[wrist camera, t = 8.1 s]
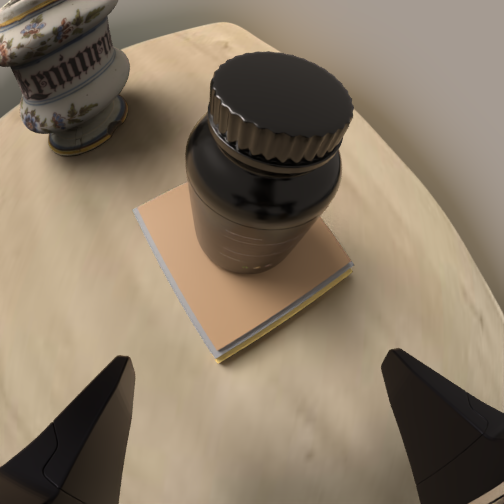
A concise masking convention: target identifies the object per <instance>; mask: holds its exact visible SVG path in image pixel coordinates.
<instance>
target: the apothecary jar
mask: <svg viewBox="0 0 504 504" xmlns="http://www.w3.org/2000/svg"><path fill="white" fill-rule="evenodd" d="M117 2H118V0H11V1H9V2H8V3H6V4H5V5H4V6H3V7H2V8H1V9H0V66H2V67H9V66H10V67H11V69H12V71H13V73H14V75H15V77H16V80H17V82H18V84H19V86H20V89H21V91H22V94H23V96H22V99H21V103H20V116H21V119H22V122H23V123H24V125H25V126H26V127H27V128H28V129H29V130H31V131H33V132H36V133H41V134H48V133H49V139H48V142H49V146H50V148H51V149H52V151H54V152H55V153H57V154H59V155H65V156H71V155H78V154H81V153H84V152H87V151H89V150H92V149H94V148H96V147H97V146H99V145H101V144H102V143H104V142H105V141H106V140H108V139H109V138H110V137H111V136H112V134H113V132H114V130H115V128H116V127H117V126H119V125H121V124H122V123H123V122H124V120H125V118H126V116H127V112H128V106H127V103H126V101H125V100H124V98H123V97H121V96H120V95H118V94H119V93H120V92H121V90H122V89H123V87H124V86H125V84H126V82H127V79H128V76H129V71H130V64H129V60H128V58H127V56H126V55H125V53H124V52H122V51H121V50H120V49H118V48H116V47H113V44H112V40H111V35H110V30H109V24H108V17H107V15H108V14H109V13H110V12H111V11H112V10H113V9H114V7H115V6H116V4H117Z"/></svg>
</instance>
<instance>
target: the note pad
mask: <svg viewBox="0 0 504 504" xmlns="http://www.w3.org/2000/svg"><path fill="white" fill-rule="evenodd" d="M133 213H134V215H135V217H136V219H137V221H138V223H139V225H140V227H141V229H142V231H143V233H144V235H145V237H146V239H147V241H148V243H149V245H150V247H151V249H152V251H153V253H154V255H155V257H156V259H157V261H158V263H159V265H160V267H161V269H162V270H163V272H164V274H165V276H166V278H167V280H168V281H169V283H170V285H171V287H172V289H173V290H174V292H175V294H176V296H177V298H178V299H179V301H180V303H181V304H182V306H183V308H184V310H185V311H186V313H187V315H188V316H189V318H190V320H191V321H192V323H193V325H194V326H195V328H196V330H197V331H198V333H199V335H200V336H201V338H202V339H203V341H204V343H205V344H206V346H207V347H208V349H209V350H210V352H211V354H212V356H213V357H214V359H215V360H216V362H217V364H218V363H220V362H221V361H223V360H225V359H226V358H228V357H230V356H231V355H233V354H235V353H236V352H238V351H239V350H241V349H243V348H244V347H246V346H247V345H249V344H251V343H252V342H254V341H255V340H257V339H258V338H260V337H261V336H263V335H265V334H266V333H268V332H269V331H271V330H272V329H274V328H275V327H277V326H278V325H280V324H281V323H283V322H284V321H286V320H287V319H289V318H290V317H291V316H293V315H294V314H296V313H297V312H299V311H300V310H302V309H303V308H304V307H306V306H307V305H309V304H310V303H311V302H313V301H314V300H316V299H317V298H318V297H320V296H321V295H323V294H324V293H325V292H327V291H328V290H329V289H331V288H332V287H333V286H335V285H336V284H337V283H339V282H340V281H341V280H343V279H344V278H345V277H347V276H348V275H349V274H351V273H352V272H353V271H352V270H351V267H352V266H354V264H353V262H352V261H351V259H350V258H349V256H348V255H347V254H346V252H345V251H344V249H343V248H342V246H341V245H340V243H339V242H338V241H337V239H336V238H335V236H334V235H333V233H332V232H331V231H330V229H329V228H328V226H327V225H326V224H325V222H324V221H323V220H322V218H321V217H319V218H318V219H317V221H316V222H315V223H314V224H313V226H312V227H311V228H310V229H309V230H308V232H307V233H306V234H305V235H304V237H303V238H302V239H301V240H300V241H299V243H298V244H297V245H296V246H295V248H294V249H293V250H292V251H291V252H290V253H289V255H288V256H287V257H286V258H285V259H284V260H283V261H282V262H281V263H279V264H278V265H277V266H275V267H274V268H272V269H270V270H268V271H265V272H262V273H257V274H238V273H233V272H230V271H227V270H225V269H223V268H221V267H219V266H218V265H216V264H215V263H214V262H212V261H211V260H210V259H209V258H208V257H207V256H206V254H205V253H204V252H203V250H202V248H201V247H200V244H199V242H198V240H197V236H196V232H195V227H194V221H193V215H192V208H191V202H190V195H189V188H188V181H187V182H185V183H183V184H181V185H179V186H177V187H175V188H173V189H171V190H169V191H167V192H165V193H163V194H161V195H159V196H157V197H155V198H153V199H151V200H150V201H148V202H146V203H144V204H142V205H140V206H138V207H136V208H135V209H133Z"/></svg>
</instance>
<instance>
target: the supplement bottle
mask: <svg viewBox="0 0 504 504" xmlns="http://www.w3.org/2000/svg"><path fill="white" fill-rule="evenodd" d="M353 109H354V107H353V105H352V98H351V97H350V96H349V95H348V91H347V90H346V89H345V88H344V87H343V85H342V83H341V82H340V81H338V80H337V79H336V78H335V76H333V75H332V74H330V73H329V72H328V71H327V70H325V69H324V68H322V67H319V66H318V65H316V64H315V63H312V62H309V61H307V60H305V59H303V58H299V57H296V56H294V55H288V54H284V53H275V52H269V51H268V52H254V53H245V54H243V55H239V56H235V57H234V58H233V59H229V60H227V61H226V63H224V64H222V65H220V66H219V69H218V70H216V71H215V72H214V75H213V78H212V80H211V83H210V102H209V105H208V112H207V113H206V114H205V115H203V116H202V118H201V119H200V120H199V121H198V122H197V124H196V125H195V126H194V128H193V130H192V132H191V134H190V136H189V138H188V141H187V146H186V153H185V161H186V173H187V180H188V188H189V195H190V202H191V208H192V215H193V221H194V227H195V232H196V236H197V240H198V242H199V244H200V247H201V248H202V250H203V252H204V253H205V254H206V256H207V257H208V258H209V259H210V260H211V261H212V262H214V263H215V264H216V265H218V266H219V267H221V268H223V269H225V270H227V271H230V272H233V273H238V274H257V273H262V272H265V271H268V270H270V269H272V268H274V267H275V266H277V265H278V264H279V263H281V262H282V261H283V260H284V259H285V258H286V257H287V256H288V255H289V253H290V252H291V251H292V250H293V249H294V248H295V246H296V245H297V244H298V243H299V241H300V240H301V239H302V238H303V237H304V235H305V234H306V233H307V232H308V230H309V229H310V228H311V227H312V226H313V224H314V223H315V222H316V221H317V219H318V218H319V217H320V216H321V214H322V213H323V212H324V211H325V209H326V208H327V207H328V205H329V204H330V203H331V201H332V200H333V198H334V196H335V195H336V193H337V191H338V188H339V185H340V182H341V176H342V161H341V155H340V151H339V147H340V145H341V143H342V140H343V136H344V134H345V132H346V131H347V129H348V127H349V124H350V122H351V120H352V118H353Z"/></svg>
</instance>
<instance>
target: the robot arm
mask: <svg viewBox="0 0 504 504" xmlns="http://www.w3.org/2000/svg"><path fill="white" fill-rule="evenodd" d="M381 370H382V374H383V378H384V382H385V386H386V389H387V393H388V397H389V401H390V404H391V407H392V410H393V413H394V416H395V419H396V422H397V424H398V427H399V430H400V433H401V436H402V439H403V443H404V446H405V449H406V452H407V455H408V459H409V462H410V465H411V469H412V472H413V476H414V479H415V483H416V487H417V491H418V495H419V499H420V503H421V504H504V413H502V412H500V411H498V410H497V409H495V408H493V407H491V406H489V405H487V404H485V403H484V402H482V401H480V400H479V399H477V398H475V397H474V396H472V395H471V394H469V393H468V392H466V391H465V390H463V389H461V388H460V387H458V386H457V385H455V384H454V383H452V382H451V381H449V380H448V379H446V378H445V377H443V376H442V375H440V374H439V373H437V372H435V371H434V370H432V369H431V368H429V367H428V366H426V365H425V364H423V363H422V362H420V361H419V360H417V359H416V358H414V357H413V356H411V355H409V354H408V353H406V352H405V351H403V350H402V349H400V348H396V349H391V350H389V352H388V353H387V355H386V357H385V359H384V361H383V363H382V365H381ZM134 387H135V371H134V368H133V365H132V361H131V358H130V357H129V356H122V355H118V356H116V357H115V358H114V359H113V360H112V361H111V362H110V363H109V364H108V365H107V366H106V367H105V368H104V369H103V370H102V371H101V372H100V373H99V374H98V375H97V376H96V377H95V378H94V379H93V380H92V381H91V382H90V383H89V384H88V385H87V386H86V387H85V388H84V389H83V391H82V392H81V393H80V394H79V395H78V396H77V397H76V398H75V399H74V400H73V401H72V402H71V403H70V404H69V405H68V406H67V407H66V408H65V409H64V410H63V411H62V412H61V413H60V414H59V415H58V416H57V417H56V418H55V419H54V421H53V422H51V423H50V425H49V426H48V427H47V428H46V429H45V430H44V431H43V432H42V433H41V434H40V435H39V436H38V437H37V438H36V439H34V440H33V441H32V442H31V443H30V444H29V445H28V446H26V447H25V448H24V449H23V450H22V451H20V452H19V453H18V454H17V455H15V456H14V457H13V458H12V459H11V460H9V461H8V462H7V463H6V464H4V465H3V466H1V467H0V504H119V495H120V487H121V479H122V472H123V465H124V459H125V453H126V447H127V441H128V436H129V430H130V425H131V419H132V409H133V397H134Z"/></svg>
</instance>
